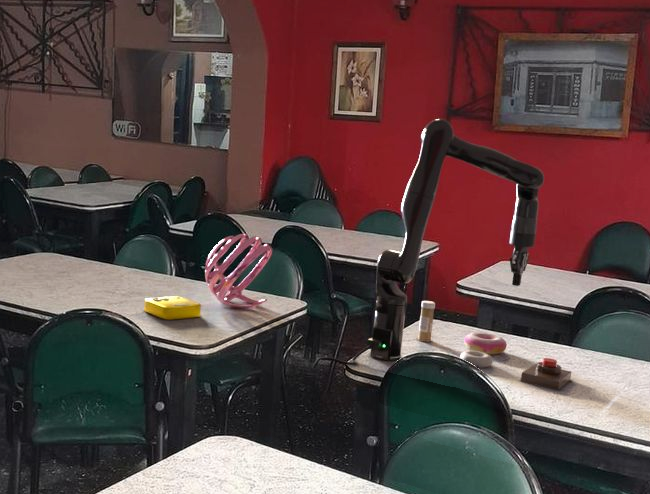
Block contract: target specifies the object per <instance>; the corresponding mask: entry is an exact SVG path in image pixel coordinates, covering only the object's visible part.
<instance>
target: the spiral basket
mask: <svg viewBox="0 0 650 494" xmlns="http://www.w3.org/2000/svg"><path fill="white" fill-rule="evenodd" d="M239 240H240V241H239ZM238 241H239V243H238V245H236V248H234V250H233V251H232V252H231V253H230V254H229V255H228V256H227V257H226V259H224V261H223V262H222V263H221V264H220V265H219V263H218V262H219V260H220V259H221V258H223V256H225V254H226V253H227V251H228V250H229V249H230V248H231V247H232V246H233V245H234V244H235V243H237V242H238ZM225 242H226V243H225ZM224 243H225V244H224ZM223 244H224V245H223ZM252 244H253V245H252ZM222 245H223V246H222ZM221 246H222V247H221ZM250 246H252V247H251V248H250V250H249V252H248V253H247V254H246V256H245V257H244V258H243V259H242V261H241V262H240V263H239V264H238V265H237V267H236V268H234V270H233V271H232V272H231V273H230V274H229V275H228V276H225V274H224V273H225V271H226V270H227V269H228V268H229V267H230V265H231V264H233V262H234V261H235V260H236V259H237V258H238V257H239V255H241V254H242V253H243V252H244V251H245V250H246V249H247V248H248V247H250ZM220 247H221V248H220ZM219 248H220V249H219ZM218 249H219V250H218ZM217 250H218V251H217ZM273 251H274V250H273V247H272V245H270V244H269V243H264V244H263V240H262V238H261V237H259V236H255V235H254V236H249V235H248V234H247V233H239V234H237V235H229V236H226V237H224V238H223V239H221V240H220V241H219V242H218V244H216V245H215V246H214V247H213V249H212V250H211V251H210V253H209V254H208V255H207V258H206V261H205V264H204V265H205V266H204V277H205V282H206V285H207V288H208V289H209V291H210V293H211V294H212V295H213V296H214V298H216V299H217V301H219V302H220V303H222V304H224V305H225V306H228V307H232V308H236V309H250V308H254V307H258V306H260V305H263V304H264V303H266V302H267V301H268V298H263V299H261V300H256V299H252V298H250V297H247V296H246V295H244V294H243V293H242V292H243V291H244V290H245V289H246V288H247V287H248V286H249V285H250V284H251V282H253V281H254V279H256V277H257V276H258V275H259V274H260V272H261V271H262V270H263V268H264V267H265V265H267V263H268V262H269V260H270V259H271V257H272V254H273ZM262 254H263V256H262V257H261V259H260V260H259V262H258V263H257V264H256V265H255V267H254V268H253V269H252V271H250V272H249V274H248V275H247V276H246V277H245V278H244V279H243V280H242V281H241V282H240V283H239V284H238V285H237V286H233V285H234V283H235V282H236V281H237V279H238V278H239V277H240V276H241V275H242V274H243V273H244V272H245V270H246V269H247V268H248V267H249V266H250V265H251V264H252V263H253V262H254V261H256V260H257V259H258V258H259V257H260V256H261V255H262ZM213 268H214V270H213V271H211V270H212V269H213ZM218 281H220V282H219V283H218V284H217V282H218ZM227 293H228V294H227ZM233 299H238V300H240V301H243V302H245V303H248V304H247V305H245V304H244V305H242V304H241V305H240V304H234V303H231V302H230V301H232V300H233Z"/></svg>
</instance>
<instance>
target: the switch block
mask: <svg viewBox="0 0 650 494" xmlns="http://www.w3.org/2000/svg"><path fill="white" fill-rule="evenodd" d="M542 364H543V361H539V362H537V363H534V364H533V365H531V366H530V367H528V368H526V369H525V370H524V371H522V372H521V376H520V382H523V383H527V384H531V385H535V386H539V387H542V388H543V387H544V388H546V389H547V388H548V389H552V390H555V391H559V390H560V389H561V388H562V387H564V386H566V384H568V383H569V381H571V379H572V371H570V370H566V369H563V367H562V366H561V365H560V364H557V365H556V368H551V367H546V366H543V365H542Z"/></svg>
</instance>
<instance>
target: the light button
mask: <svg viewBox="0 0 650 494" xmlns="http://www.w3.org/2000/svg"><path fill="white" fill-rule="evenodd" d="M542 362H543V364H542V365H543V366H546V367H551V368H556V365H558V361H557V360H556V359H555V358H551V357H549V358H548V357H543V358H542Z"/></svg>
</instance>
